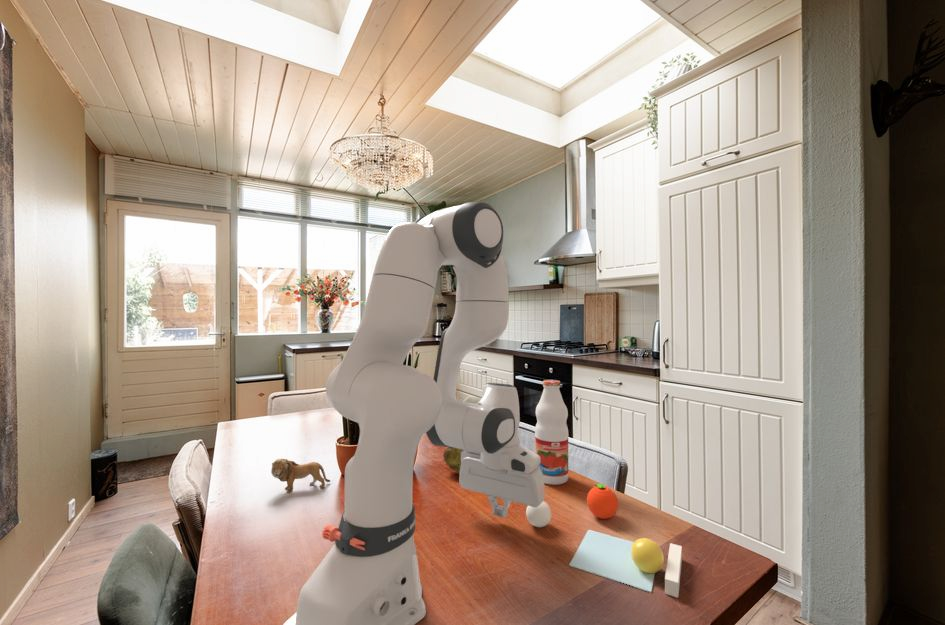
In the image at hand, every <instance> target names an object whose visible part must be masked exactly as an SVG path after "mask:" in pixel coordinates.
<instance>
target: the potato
mask: <svg viewBox="0 0 945 625" xmlns="http://www.w3.org/2000/svg"><path fill="white" fill-rule="evenodd" d="M462 451H463V449H458V448H454V447H446V449H445V450H444V452H443V459H444V462H445V464H446V465H447V466H448V467H449V469H451V470H452V471H454V472H456V473H458V474H459V475H460V467H461V452H462Z"/></svg>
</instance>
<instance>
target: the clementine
mask: <svg viewBox="0 0 945 625" xmlns="http://www.w3.org/2000/svg"><path fill="white" fill-rule="evenodd" d="M586 504H587V507H588V509H589V511H590V512H591V513H592V514H593V515H594V516H595V517H597V518H599V519H604V520H606V519H607V520H608V519H610V518H612V517H613V516H615V514H616V513H617V511H618V508H619V502H618V497H617V494H616V493H615V492H614V491H613V490H612V489H611V488H610V487H608V486H606V485H603V484H601V483H600V484H599V483H596V484H595V485H594V487H592V488H591V489H590V490H589V491H588V493H587V496H586Z"/></svg>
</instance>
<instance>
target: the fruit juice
mask: <svg viewBox="0 0 945 625" xmlns="http://www.w3.org/2000/svg"><path fill="white" fill-rule="evenodd" d="M542 387H543V390H542V393H541V396H540V399H539V401H538V403H537V405H536V407H535V416H536V421H537V422H536V424H535V429H534V439H535V440H534V453H536V454H538V455H539V456H540V458H541V461H540V464H539V466H538V467H539V468H540V469H541V471H542V473H543V478H544V485H549V486H550V485H551V486H558V485H563V484H565V483H567V482H568V479H569V429H568V424H567V420H568V417H569V412H568V408H567V405H566V404H565V402H564V399H563V396H562V393H561V391H560V388H561V381H560V380H557V379H544V380H543V382H542Z"/></svg>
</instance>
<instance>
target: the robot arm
mask: <svg viewBox="0 0 945 625" xmlns="http://www.w3.org/2000/svg"><path fill="white" fill-rule="evenodd" d="M503 242H504V226H503V222H502V219H501V217H500V215H499V213H498V212H497V210H496V209H495V207H493V206H492V205H491V204H489V203H486V202H482V201H470V202H469V201H468V202H464V203H463V204H460V205H454V206H450V207H444V208H441V209H437V210H436V211H432V212H431V213H430V214H426V215H423V216H420V217H419V218H418V219H417V220H414V222H413V221H411V222H410V221H406V222H400V223H397V224H395V225H394V226H393V227H391V229H390V230H389V232H387V235H386V237H385V239H384V241H383V243H382V245H381V249H380V251H379V254H378V257H377V260H376V262H375V265H374V269H373V274H372V278H371V282H370V285H369V290H368V294H367V297H366V303H365V305H364V308H363V309H364V310H363V313H362V314H363V315H362V317H361V320H360V323H359V325H358V328H357V330H356V333H355V334H354V336H353V338H352V340H351V343H350V344H349V346H348V349H347V350H346V352H345V355H344V356H343V358H342V360H341V361H340V362H339V364H337V365H336V366H335V367H334V368H333V369H332V371H330V373H329V375H328V378H326V379H327V380H326V383H325V394H326V398H327V400H328V402H329V403H330V404H331V406H332V407H333V409H335V411H336V412H338V414H339V415H341V416H342V417H344V419H347V420H349V421H353V422H355V423H357V424H358V427H359V437H358V443H357V446H356V450H355V453H354V455H353V456H352V457H351V458H350V459H349V460H348V462H347V463H346V466H345V469H344V511H343V512H342V514H341V518H340V521H339V524H338V527H335V526H334V525H332V524H328V525H327V524H326V525H325V526H324V528H323V530H322V532H321V537H322V538H323V539H324V540H328V541H329V542H331V543H333V542H334V544H333V545H332V546H331V548H330V549H329V551H328V552H327V553H326V555H325V556H324V557H323V559H322V560H321V562H320V563H319V564H318V566H317V568H315V570H314V571H313V572H312V574H311V575H310V576H309V578H308V580H307V581H306V582H305V583H304V584H303V586H302V587H301V590H300V593H299V595H298V599H297V604H296V611H295V612H294V614H293V615H291V617H289V618H288V619H287V620H286V621H285V622H284V623H283V624H282V625H416V624H417V623H418V622H420V621H421V620H422V619H424V618H425V616H426V613H427V611H426V603H425V602H424V599H423V597H422V596H423V586H422V582H421V579H420V570H419V560H418V554H417V549H416V545H415V538H414V533H415V531H416V520H417V518H416V509H415V505H414V503H413V492H414V491H413V486H414V480H413V479H414V467H415V466H414V464H415V458H416V453H417V450H418V447H419V444H420V441H421V440H422V438H423V436H424V435H426V437H427V439H428V440H429V441H430V443H431V444H432V445H433V446H435V447H441V448H442V447H443V448H449V447H454V448H458V449H463V451H462V452H461V467H460V474H459V479H458V481H459V482H458V483H459V485H460V487H461V488H462V489H463V490H464V489H465V490H469V491H472V492H475V493H479V494H483V495H487V500H488V502H489V504H490V506H491V508H492V515H493V516H497V517H499V518H504V519H505V518H506V517H507V516H508V509H509V506H510V505H511V503H512V502H514V503H517V504H521V505H525V506H531V507H538V506H539V505H540V504H541V503H542V502H543V501H544V500H545V497H546V494H545V492H546V490H545V483H544V478H543V473H542V471H541V469H540V468H539V467H538V466H539V464H540V461H541V458H540V456H539V455H538V454H536V453H535V451H531V450H530V449H529V448H526V447H525V446H523V445H522V444H521V443H520V441H521V440H520V436H519V426H520V422H521V417H520V415H521V414H520V401H519V400H520V399H519V395H518V390H517V387H515V386H514V385H512V384H509V383H507V384H506V383H497V382H487V383H485V384H484V385H483V387H482V394H481V399H480V400H478V402H476V403H474V402H466V401H459V399H457V396H456V392H457V387H458V382H459V375H460V368H461V364H462V362H463V360H464V358H465V357H466V356H467V355H468V354H469V353H470V352H472V351H474V350H477V349H481V348H483V347H484V346H485V347H486V346H488V345H490V344H492V343H494V342H495V341H497V339H499V338H500V337H501V336H502V335H503V333H504V332H505V330H506V328H507V326H508V322H509V314H510V312H509V311H510V310H509V307H510V306H509V305H510V304H509V302H510V301H509V300H510V298H509V297H510V296H509V281H508V274H507V267H506V262H505V260H504V258H503V256H502V255H501V253H502V248H503ZM441 266H452V269H453V271H454V274H455V276H456V289H455V309H454V314H453V317H452V319H451V322H450V324H449V326H448V327H447V328H445V329H444V330H443V331H442V334H441V337H440V340H439V345H438V351H437V356H436V359H435V360H436V362H435V367H434V374H433V377H432V376H429V375H428V374H427V373H425V372H424V371H421V370H419V369H418V368H415V367H413V366H411V365H406V364H404V362H405V360H406V358H407V356H408V354H409V353H410V351H411V350H412V347H413V346H414V345H415V344H416V343H417V342H418V341H419V340H421V339H422V338H423V337H424V335H425V334H426V331H427V330H428V324H429V320H430V315H431V310H432V305H433V300H434V295H435V291H436V286H437V284H436V283H437V280H438V272H439V270H440V268H441ZM497 498H498V499H502V504H504V505H499V502H498V500H497ZM544 502H545V501H544Z"/></svg>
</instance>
